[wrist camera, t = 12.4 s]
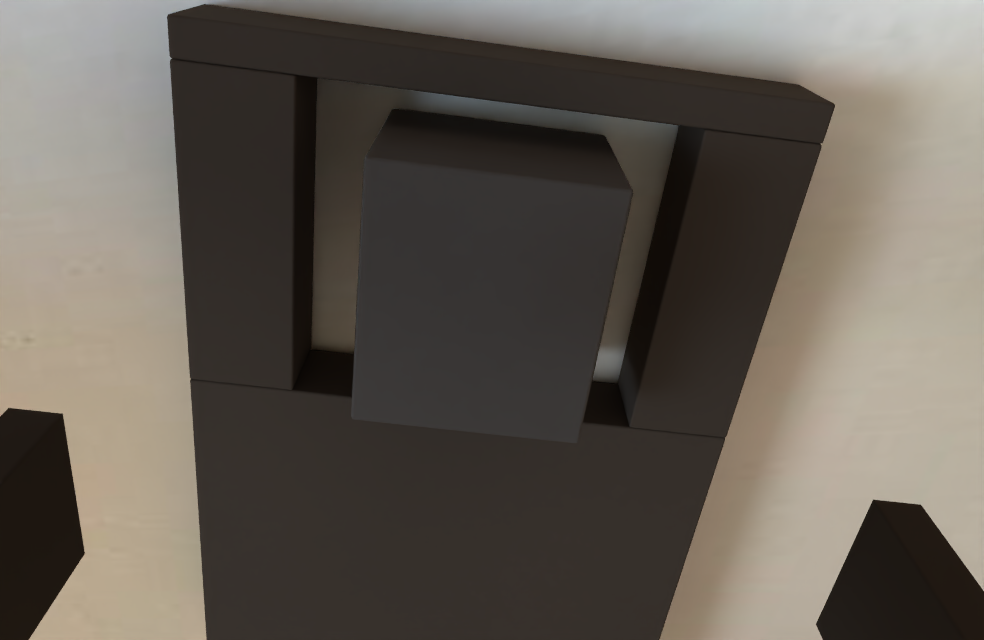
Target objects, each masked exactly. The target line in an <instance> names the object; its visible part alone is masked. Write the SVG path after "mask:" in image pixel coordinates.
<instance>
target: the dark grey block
mask: <svg viewBox="0 0 984 640" xmlns="http://www.w3.org/2000/svg"><path fill="white" fill-rule="evenodd" d="M632 196H633V190H632V188H631V186H630V184H629V182H628V180H627V178H626V176H625V174H624V172H623V170H622V168H621V166H620V164H619V162H618V160H617V158H616V156H615V154H614V153H613V151H612V149H611V147H610V145H609V143H608V141H607V139H606V137H605V136H603V135H596V134H588V133H580V132H573V131H565V130H557V129H549V128H542V127H534V126H526V125H518V124H511V123H503V122H495V121H487V120H480V119H472V118H464V117H456V116H449V115H441V114H433V113H426V112H418V111H410V110H402V109H392V111H391V112H390V114H389V116H388V118H387V120H386V121H385V123H384V125H383V127H382V128H381V130H380V132H379V134H378V135H377V137H376V139H375V141H374V142H373V144H372V146H371V148H370V150H369V151H368V153H367V155H366V157H365V159H364V171H363V191H362V211H361V230H360V250H359V270H358V289H357V309H356V329H355V348H354V368H353V388H352V407H351V417H352V419H354V420H363V421H373V422H382V423H391V424H401V425H410V426H419V427H428V428H438V429H447V430H456V431H466V432H475V433H484V434H493V435H503V436H512V437H521V438H531V439H540V440H549V441H558V442H568V443H578V441H579V438H580V433H581V429H582V424H583V419H584V415H585V410H586V406H587V401H588V397H589V392H590V388H591V383H592V378H593V374H594V369H595V365H596V360H597V356H598V351H599V347H600V342H601V337H602V333H603V328H604V324H605V319H606V315H607V310H608V306H609V301H610V296H611V292H612V287H613V283H614V278H615V274H616V269H617V265H618V260H619V255H620V251H621V246H622V242H623V237H624V233H625V228H626V224H627V219H628V214H629V210H630V205H631V201H632Z"/></svg>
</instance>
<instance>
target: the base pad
mask: <svg viewBox="0 0 984 640" xmlns="http://www.w3.org/2000/svg"><path fill="white" fill-rule="evenodd" d="M167 20H168V36H169V52H170V57H171V58H173V59H171V60H170V68H171V84H172V99H173V115H174V131H175V147H176V163H177V179H178V194H179V210H180V226H181V242H182V258H183V273H184V289H185V305H186V321H187V337H188V353H189V368H190V378H191V380H190V383H191V399H192V414H193V430H194V446H195V462H196V478H197V494H198V509H199V525H200V541H201V557H202V573H203V589H204V604H205V620H206V636H207V640H659V639H660V636H661V633H662V630H663V627H664V623H665V620H666V617H667V614H668V611H669V608H670V605H671V602H672V599H673V596H674V593H675V590H676V587H677V584H678V581H679V578H680V575H681V572H682V569H683V566H684V563H685V560H686V557H687V554H688V551H689V548H690V545H691V541H692V538H693V535H694V532H695V529H696V526H697V523H698V520H699V517H700V514H701V511H702V508H703V505H704V502H705V499H706V496H707V493H708V490H709V487H710V484H711V481H712V478H713V475H714V472H715V469H716V466H717V462H718V459H719V456H720V453H721V450H722V447H723V444H724V441H725V437H726V436H727V433H728V430H729V427H730V424H731V420H732V417H733V414H734V411H735V408H736V405H737V402H738V399H739V396H740V393H741V390H742V387H743V384H744V381H745V378H746V375H747V372H748V369H749V366H750V363H751V360H752V357H753V354H754V351H755V348H756V345H757V342H758V338H759V335H760V332H761V329H762V326H763V323H764V320H765V317H766V314H767V311H768V308H769V305H770V302H771V299H772V296H773V293H774V290H775V287H776V284H777V281H778V278H779V275H780V272H781V269H782V266H783V263H784V260H785V257H786V253H787V250H788V247H789V244H790V241H791V238H792V235H793V232H794V229H795V226H796V223H797V220H798V217H799V214H800V211H801V208H802V205H803V202H804V199H805V196H806V193H807V190H808V187H809V184H810V181H811V178H812V175H813V171H814V168H815V165H816V162H817V159H818V156H819V153H820V150H821V143H823V141H824V138H825V135H826V132H827V129H828V126H829V123H830V120H831V117H832V114H833V111H834V107H835V104H833V103H831V102H830V101H828V100H826V99H824V98H822V97H820V96H818V95H817V94H815V93H813V92H811V91H809V90H807V89H805V88H804V87H802V86H800V85H796V84H788V83H781V82H774V81H766V80H759V79H752V78H744V77H737V76H729V75H722V74H715V73H707V72H700V71H693V70H685V69H678V68H671V67H663V66H656V65H648V64H641V63H634V62H626V61H619V60H612V59H604V58H597V57H589V56H582V55H575V54H567V53H560V52H553V51H545V50H538V49H531V48H523V47H516V46H508V45H501V44H494V43H486V42H479V41H472V40H464V39H457V38H449V37H442V36H435V35H427V34H420V33H413V32H405V31H398V30H391V29H383V28H376V27H368V26H361V25H354V24H346V23H339V22H332V21H324V20H317V19H310V18H302V17H295V16H287V15H280V14H273V13H265V12H258V11H251V10H243V9H236V8H228V7H221V6H214V5H206V4H204V5H200V6H197V7H193V8H190V9H186V10H183V11H179V12H175V13H172V14H168V16H167ZM317 78H324V79H332V80H339V81H347V82H354V83H362V84H369V85H377V86H385V87H392V88H400V89H407V90H415V91H423V92H430V93H438V94H445V95H453V96H461V97H468V98H476V99H483V100H491V101H499V102H506V103H514V104H521V105H529V106H536V107H544V108H552V109H559V110H567V111H574V112H582V113H590V114H597V115H605V116H612V117H620V118H628V119H635V120H643V121H650V122H658V123H666V124H673V125H680V126H679V130H678V134H677V139H676V143H675V147H674V151H673V155H672V159H671V164H670V168H669V172H668V176H667V180H666V184H665V189H664V193H663V197H662V201H661V205H660V209H659V214H658V218H657V222H656V226H655V230H654V234H653V239H652V243H651V247H650V251H649V255H648V259H647V264H646V268H645V272H644V276H643V280H642V284H641V289H640V293H639V297H638V301H637V305H636V309H635V314H634V318H633V322H632V326H631V330H630V334H629V339H628V343H627V347H626V351H625V355H624V359H623V364H622V368H621V372H620V376H619V380H618V384H609V383H601V382H592V383H591V388H590V392H589V397H588V401H587V406H586V410H585V415H584V419H583V424H582V429H581V433H580V438H579V441H578V443H568V442H558V441H549V440H540V439H531V438H521V437H512V436H503V435H493V434H484V433H475V432H466V431H456V430H447V429H438V428H428V427H419V426H410V425H401V424H391V423H382V422H373V421H363V420H354V419H352V417H351V407H352V388H353V368H354V355H352V354H344V353H335V352H326V351H317V350H310V349H311V325H312V279H313V233H314V187H315V141H316V95H317Z"/></svg>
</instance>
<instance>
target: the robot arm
mask: <svg viewBox="0 0 984 640" xmlns="http://www.w3.org/2000/svg"><path fill="white" fill-rule="evenodd" d="M84 554H85V552H84V546H83V540H82V533H81V527H80V521H79V514H78V508H77V502H76V495H75V489H74V483H73V476H72V470H71V464H70V457H69V451H68V445H67V438H66V432H65V426H64V419H63V414H59V413H50V412H41V411H31V410H22V409H12V408H8V409H7V410H6V411H5V412H4V413H3V414H2V415H1V416H0V640H29V638H30V637H31V635H32V634H33V632H34V631H35V629H36V627H37V626H38V624H39V623H40V621H41V620H42V618H43V617H44V615H45V614H46V612H47V611H48V609H49V608H50V606H51V604H52V603H53V601H54V600H55V598H56V597H57V595H58V594H59V592H60V591H61V589H62V588H63V586H64V585H65V583H66V581H67V580H68V578H69V577H70V575H71V574H72V572H73V571H74V569H75V568H76V566H77V565H78V563H79V561H80V560H81V558H82V557H83V555H84ZM816 625H817V627H818V630H819V632H820V634H821V636H822V638H823V640H984V591H983V590H982V588H981V587H980V585H979V584H978V583H977V581H976V580H975V579H974V577H973V576H972V574H971V573H970V572H969V570H968V569H967V568H966V566H965V565H964V563H963V562H962V561H961V559H960V558H959V557H958V555H957V554H956V552H955V551H954V550H953V548H952V547H951V546H950V544H949V543H948V541H947V540H946V539H945V537H944V536H943V535H942V533H941V532H940V530H939V529H938V528H937V526H936V525H935V524H934V522H933V521H932V519H931V518H930V517H929V515H928V514H927V513H926V511H925V510H924V508H923V507H922V506H921V505H918V504H908V503H899V502H889V501H880V500H873V501H872V504H871V506H870V508H869V510H868V512H867V514H866V517H865V519H864V521H863V523H862V525H861V527H860V530H859V532H858V534H857V536H856V538H855V541H854V543H853V545H852V547H851V549H850V551H849V554H848V556H847V558H846V560H845V562H844V564H843V567H842V569H841V571H840V573H839V575H838V578H837V580H836V582H835V584H834V586H833V588H832V591H831V593H830V595H829V597H828V599H827V601H826V604H825V606H824V608H823V610H822V612H821V614H820V617H819V619H818V621H817V623H816Z"/></svg>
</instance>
